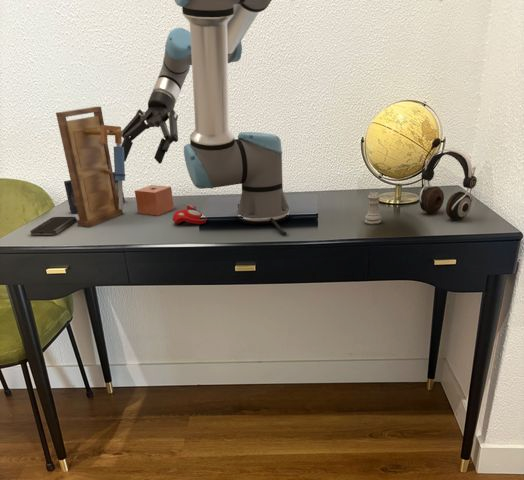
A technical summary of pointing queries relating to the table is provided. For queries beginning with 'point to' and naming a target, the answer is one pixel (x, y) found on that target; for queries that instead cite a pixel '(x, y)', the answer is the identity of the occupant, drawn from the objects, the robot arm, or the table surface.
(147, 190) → the stand
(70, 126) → the door
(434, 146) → the headset
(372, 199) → the rook chess piece
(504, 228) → the table surface
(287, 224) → the table surface
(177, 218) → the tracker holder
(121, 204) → the umbrella
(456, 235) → the table surface
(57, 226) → the phone
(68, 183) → the vhs cassette tape
